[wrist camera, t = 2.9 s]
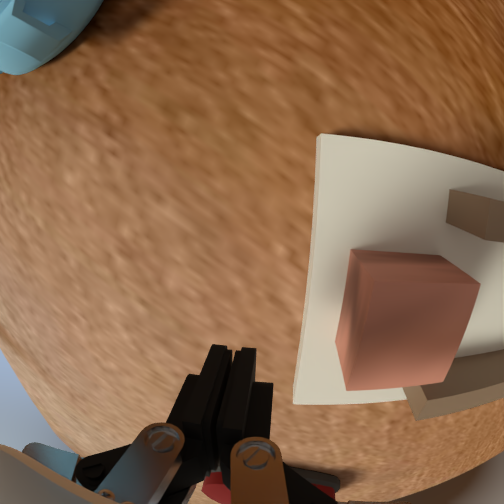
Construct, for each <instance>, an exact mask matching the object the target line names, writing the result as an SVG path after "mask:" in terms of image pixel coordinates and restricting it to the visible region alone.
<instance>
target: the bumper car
mask: <svg viewBox="0 0 504 504" xmlns="http://www.w3.org/2000/svg"><path fill="white" fill-rule="evenodd" d="M290 468H291V469H293V470H294V471H295V472H297V473H298V474H299V475H300V476H302V477H303V478H305V479H306V480H307V481H309V482H310V483H311V484H313V485H314V486H316V487H317V488H318V489H320V490H321V491H323V492H324V493H326V494H327V495H329V496H330V497H332V498H333V499H334V500H335V493H336V492H337V491H338V490H339V488H340V481H339V479H338V478H337V477H335V476H333V475H328V474H324V473H320V472H316V471H310V470H304V469H299V468H294V467H290ZM201 491H202V492H203V493H204V494H206V495H207V496H208V497H209V498H211V499H213V500H215V501H217V502H219V503H221V504H231V491H230V490H229V489H228V488H227V487H226V486H225V485H224V484H223V481H222V473H221V470H220V462H219V464H218V468H217V470H216V471H214V470H211V474H210V477H207V476H205V479H204V483H203V487H202V490H201Z"/></svg>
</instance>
